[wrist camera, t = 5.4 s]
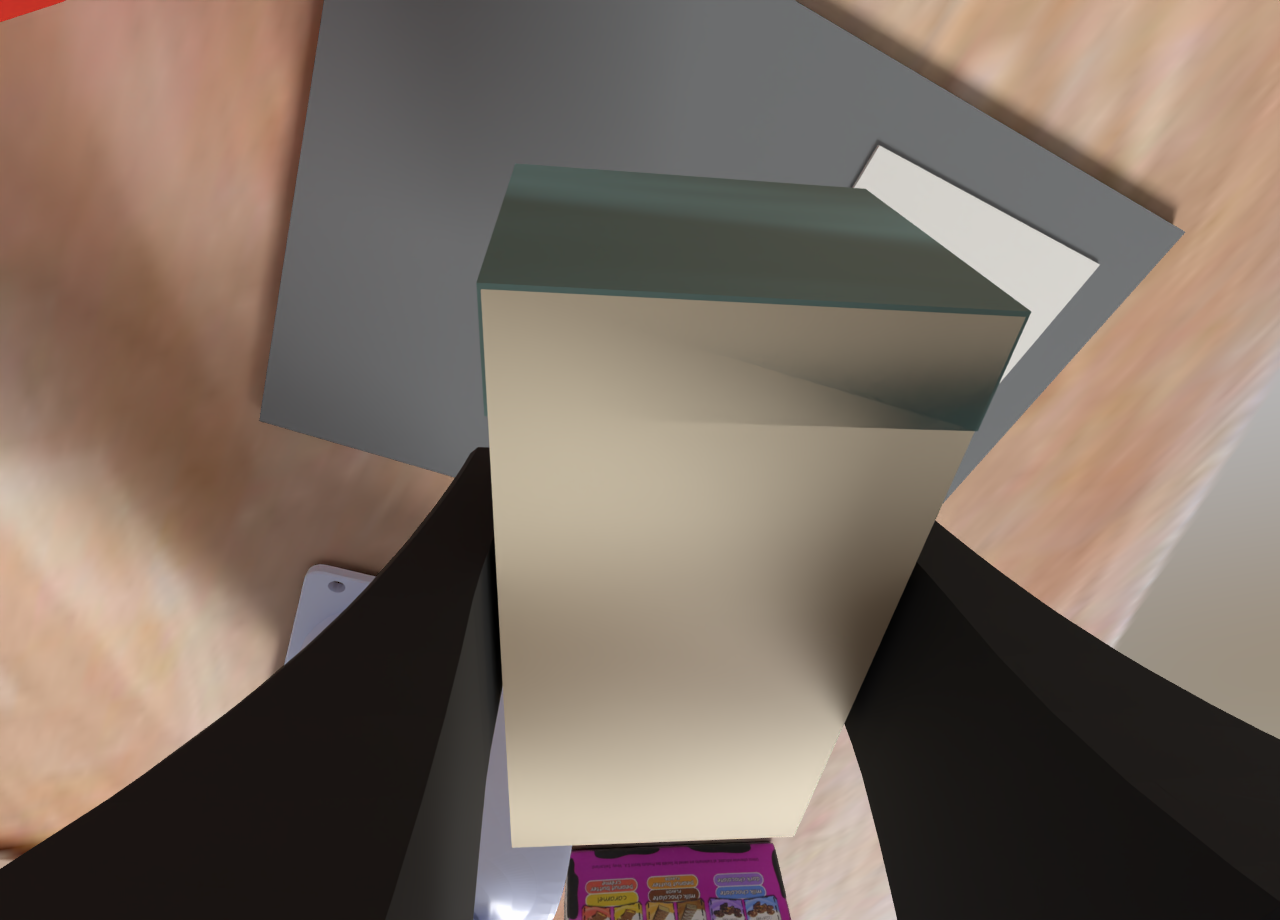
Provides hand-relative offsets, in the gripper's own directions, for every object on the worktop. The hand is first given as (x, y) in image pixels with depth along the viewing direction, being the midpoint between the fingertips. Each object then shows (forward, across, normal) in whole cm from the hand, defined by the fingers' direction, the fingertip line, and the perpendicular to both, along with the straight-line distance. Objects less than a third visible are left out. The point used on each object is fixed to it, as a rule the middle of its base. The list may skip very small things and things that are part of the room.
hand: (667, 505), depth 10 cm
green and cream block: (+1, 0, 0) cm, 1 cm away
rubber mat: (+8, -2, +1) cm, 9 cm away
